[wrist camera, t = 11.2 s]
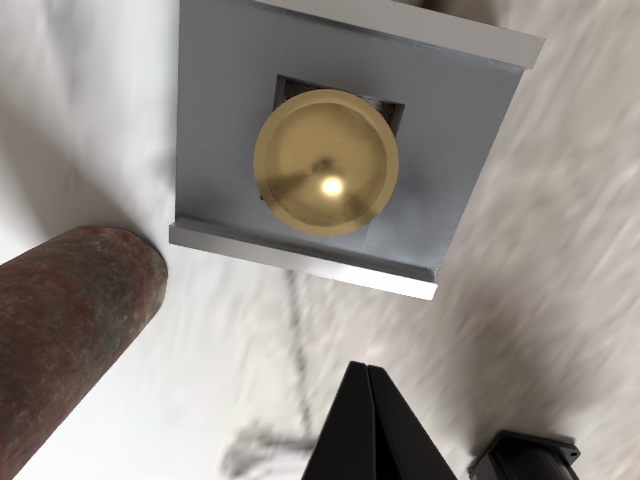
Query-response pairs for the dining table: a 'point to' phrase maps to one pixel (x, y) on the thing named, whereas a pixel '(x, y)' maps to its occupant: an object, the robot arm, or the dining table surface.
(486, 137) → the jig
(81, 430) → the dining table surface
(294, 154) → the gold flared round piece
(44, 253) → the candle
